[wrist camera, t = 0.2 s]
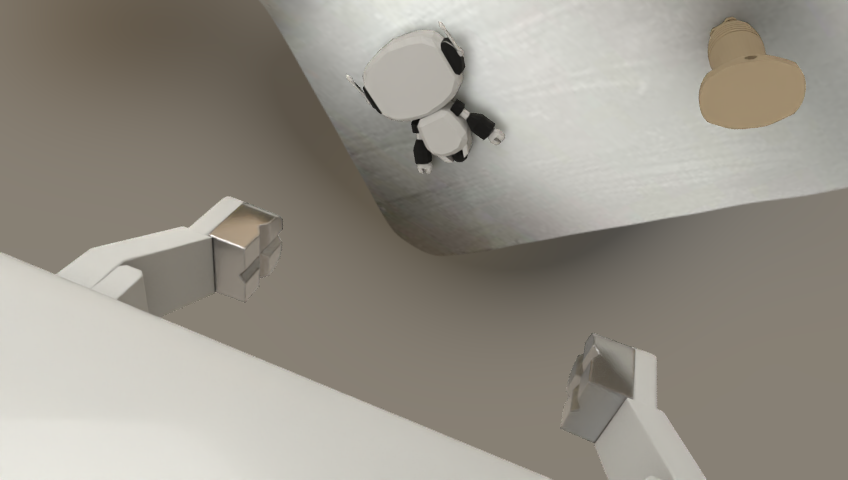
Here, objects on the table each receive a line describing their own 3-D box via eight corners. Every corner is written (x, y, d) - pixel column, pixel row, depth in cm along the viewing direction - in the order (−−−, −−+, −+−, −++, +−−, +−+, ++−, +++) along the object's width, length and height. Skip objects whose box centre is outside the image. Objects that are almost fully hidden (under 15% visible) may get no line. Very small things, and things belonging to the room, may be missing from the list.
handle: (769, 55, 51) (802, 123, 40) (689, 66, 54) (699, 133, 42) (772, -1, 49) (808, 53, 37) (689, 13, 51) (699, 68, 40)
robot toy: (516, 127, 64) (447, 3, 57) (509, 148, 60) (435, 18, 54) (426, 166, 70) (355, 58, 64) (415, 186, 67) (339, 74, 60)
